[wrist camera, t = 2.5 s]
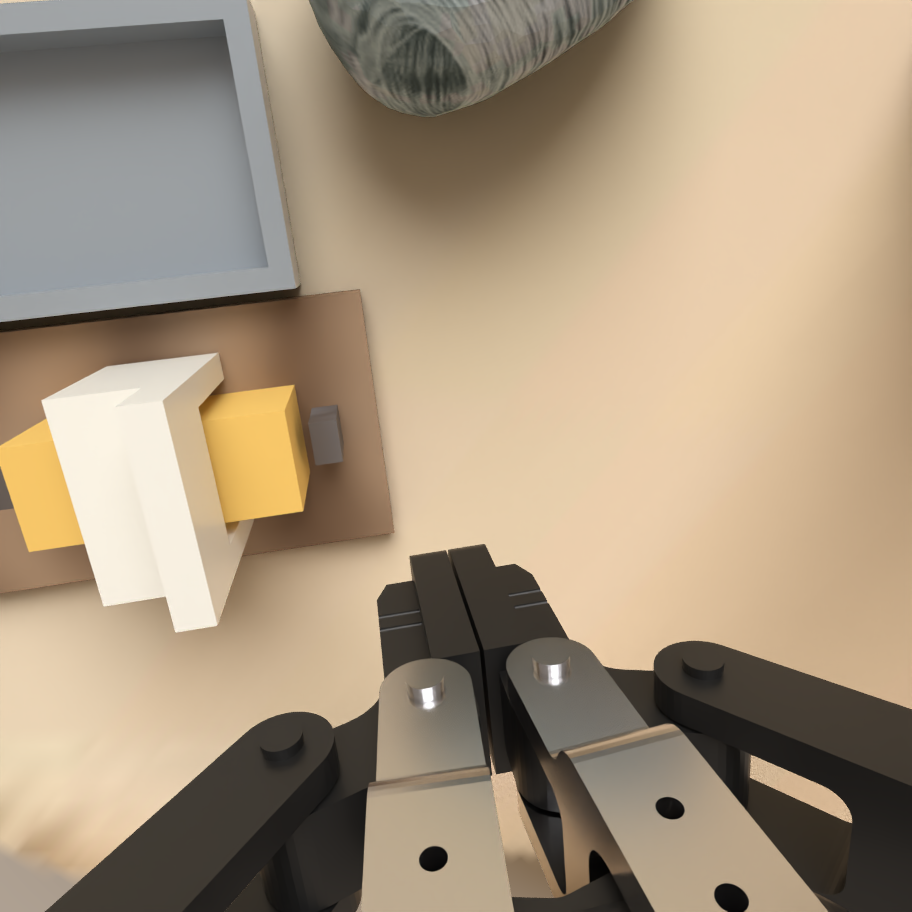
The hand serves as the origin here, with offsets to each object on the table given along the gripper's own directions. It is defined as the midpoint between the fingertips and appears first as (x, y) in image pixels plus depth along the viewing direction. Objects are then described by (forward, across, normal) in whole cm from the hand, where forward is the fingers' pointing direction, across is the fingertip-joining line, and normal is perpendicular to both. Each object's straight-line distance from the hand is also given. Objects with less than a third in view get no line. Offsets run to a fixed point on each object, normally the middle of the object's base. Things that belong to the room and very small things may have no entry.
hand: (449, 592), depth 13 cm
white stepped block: (+15, +8, 0) cm, 17 cm away
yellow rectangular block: (+15, +8, 0) cm, 17 cm away
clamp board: (+16, +10, 0) cm, 19 cm away
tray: (+16, +10, -10) cm, 21 cm away
